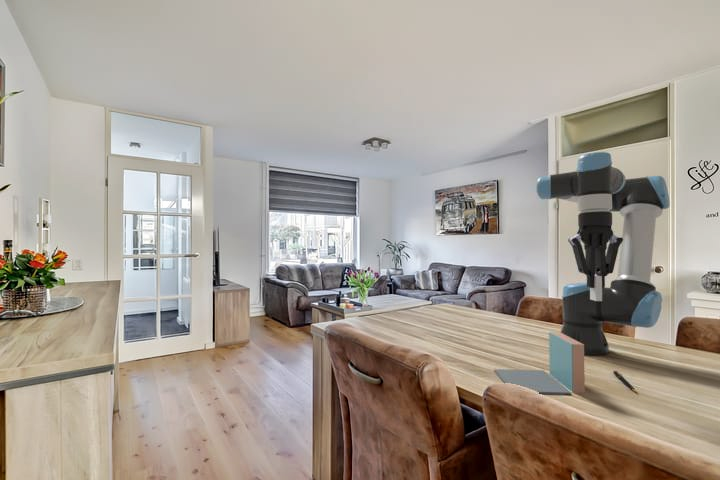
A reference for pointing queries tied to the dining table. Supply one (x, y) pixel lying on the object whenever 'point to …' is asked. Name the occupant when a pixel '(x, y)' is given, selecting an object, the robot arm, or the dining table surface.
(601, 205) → the robot arm
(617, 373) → the fountain pen
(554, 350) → the glazed tile
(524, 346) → the dining table surface
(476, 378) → the dining table surface
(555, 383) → the mat
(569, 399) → the dining table surface
